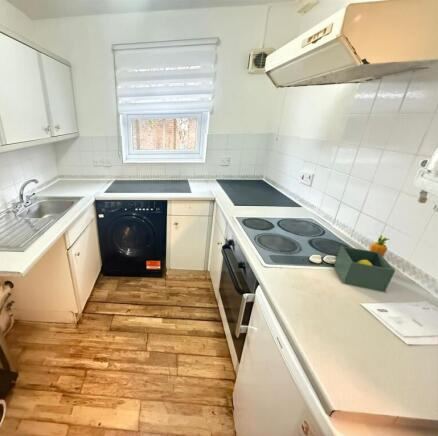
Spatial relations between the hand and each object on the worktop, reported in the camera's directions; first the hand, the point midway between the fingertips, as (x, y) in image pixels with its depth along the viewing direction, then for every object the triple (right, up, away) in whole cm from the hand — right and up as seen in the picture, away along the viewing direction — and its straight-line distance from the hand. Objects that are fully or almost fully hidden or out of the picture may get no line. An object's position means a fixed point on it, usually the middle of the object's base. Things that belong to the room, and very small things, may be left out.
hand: (428, 206), depth 80 cm
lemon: (-10, -28, +15) cm, 33 cm away
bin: (-10, -28, +16) cm, 34 cm away
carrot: (+2, -25, +23) cm, 34 cm away
